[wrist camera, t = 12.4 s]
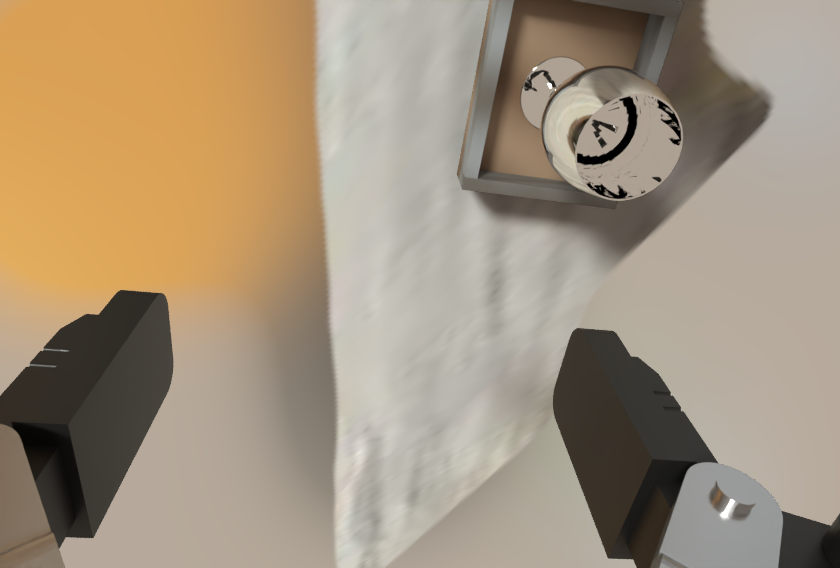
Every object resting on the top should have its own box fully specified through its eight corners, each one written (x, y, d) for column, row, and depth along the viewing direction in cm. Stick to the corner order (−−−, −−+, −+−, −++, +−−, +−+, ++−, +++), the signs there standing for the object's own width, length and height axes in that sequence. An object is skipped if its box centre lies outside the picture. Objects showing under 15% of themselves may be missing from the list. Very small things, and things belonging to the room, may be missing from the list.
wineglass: (489, 106, 35) (533, 164, 24) (553, 22, 33) (631, 47, 22) (558, 159, 37) (626, 235, 26) (622, 83, 35) (724, 133, 24)
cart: (488, -29, 34) (504, -29, 30) (644, -2, 35) (683, 2, 31) (453, 163, 40) (462, 189, 35) (588, 181, 41) (615, 208, 36)
